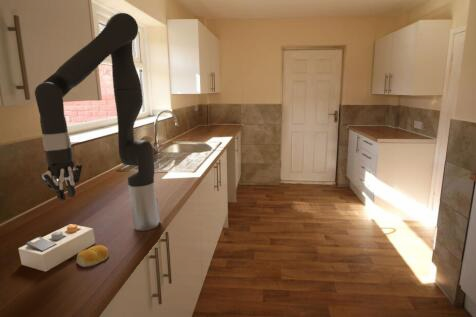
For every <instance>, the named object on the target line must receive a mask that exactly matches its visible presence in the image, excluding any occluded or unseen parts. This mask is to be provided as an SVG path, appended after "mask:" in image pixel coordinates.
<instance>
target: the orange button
mask: <svg viewBox="0 0 476 317" xmlns="http://www.w3.org/2000/svg"><path fill="white" fill-rule="evenodd" d="M68 225H69V226H68ZM68 225H67V226H68V227H67V232H68V233H69V234H73V233H75V232H77V231H78V226H79V225H78V224H73V225H70V224H68ZM77 225H78V226H77Z"/></svg>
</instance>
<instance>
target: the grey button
mask: <svg viewBox="0 0 476 317" xmlns="http://www.w3.org/2000/svg"><path fill="white" fill-rule="evenodd" d="M54 232H55V231H54ZM51 233H52V234H51V236H52V241H55V242H57V241H59V240H61V239H63V238H64V237H63V232H62V231H58V232H55V233H53V232H51Z"/></svg>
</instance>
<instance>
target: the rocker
mask: <svg viewBox="0 0 476 317" xmlns="http://www.w3.org/2000/svg"><path fill="white" fill-rule="evenodd" d="M26 245H27V246H28V247H30V248H32V249H34V250H36V251H39V252H43V251H45V250H47V249H49V248H51V247H53V246H55V244H53V243H51V242H49V241H47V240H45V239H43V238H42V236H37V237H35V238H34V239H31V240H30V241H27V242H26Z"/></svg>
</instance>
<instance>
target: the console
mask: <svg viewBox="0 0 476 317" xmlns="http://www.w3.org/2000/svg"><path fill="white" fill-rule="evenodd" d="M69 225H74V224H71V223H70V224H68V225H65V226H64V227H61V228H60V229H57V230H55V231H53V232H51V233H49V234H47V235H45V236H43V237H42V236H41V238H43V239H45V240H47V241H49V242H51V243H53V244H55V246H53V247H51V248H49V249H47V250H45V251H43V252H39V251H36V250H34V249H32V248H30V247H28V246H27V244H24V245H22V246H20V247H18V248H17V249H18V253H19V258H20V263H21V265H22V266H25V267H29V268H31V269H36V270H39V271H43V272H47V271H50V270H51V269H53V268H55V267H56V266H58V265H60V264H61V263H64V262H65V261H67V260H68V259H70V258H72V257H74V256H76V255H78V254H79V253H80V252H81V251H83V250H87V249H89V248H91V247H92V246H93V245H95V244H96V238H95V232H94V228H92V227H87V226H82V225H78V224H76V225H77V226H78V231H77V232H75V233H73V234H69V233H68V232H67V227H68V226H69ZM58 231H62V232H63V237H64V238H63V239H61V240H59V241H57V242H55V241H52V236H51V234H52V233H55V232H58Z"/></svg>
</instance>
